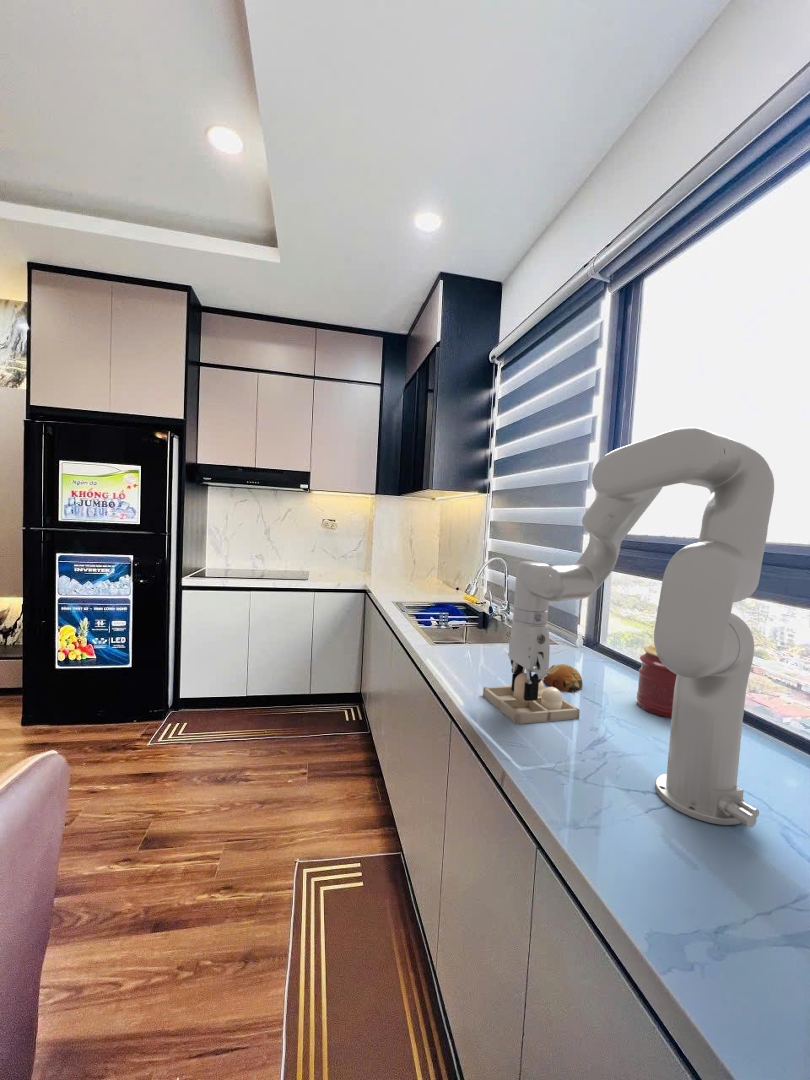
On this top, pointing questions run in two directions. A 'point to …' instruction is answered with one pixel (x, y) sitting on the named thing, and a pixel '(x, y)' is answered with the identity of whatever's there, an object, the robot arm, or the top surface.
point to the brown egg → (520, 687)
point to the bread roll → (563, 678)
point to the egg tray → (527, 707)
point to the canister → (655, 684)
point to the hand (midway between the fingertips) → (524, 694)
